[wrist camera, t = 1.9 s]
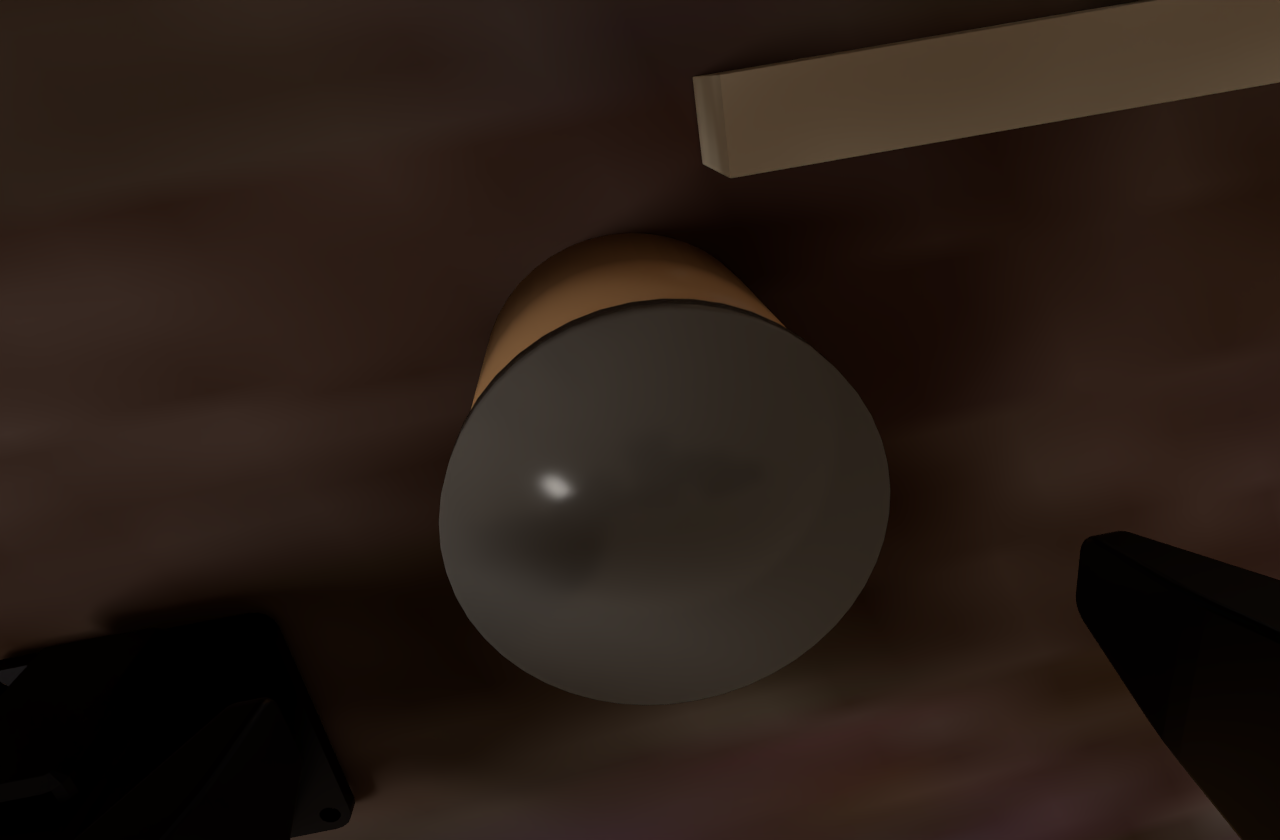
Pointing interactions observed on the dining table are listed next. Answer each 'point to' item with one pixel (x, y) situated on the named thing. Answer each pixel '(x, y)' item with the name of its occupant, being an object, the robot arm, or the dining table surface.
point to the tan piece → (982, 81)
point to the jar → (657, 480)
